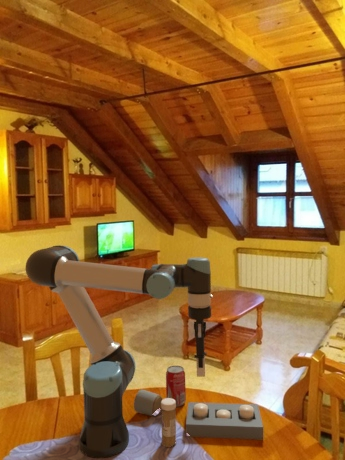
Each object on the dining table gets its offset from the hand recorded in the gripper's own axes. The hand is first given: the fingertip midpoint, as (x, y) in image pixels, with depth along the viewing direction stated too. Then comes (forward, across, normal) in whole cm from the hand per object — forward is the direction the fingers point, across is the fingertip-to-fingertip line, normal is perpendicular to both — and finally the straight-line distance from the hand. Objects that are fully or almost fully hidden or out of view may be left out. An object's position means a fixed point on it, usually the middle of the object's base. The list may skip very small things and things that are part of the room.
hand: (200, 375), depth 129 cm
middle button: (+16, 0, -7) cm, 17 cm away
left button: (+14, 0, 0) cm, 14 cm away
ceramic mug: (+17, +8, +19) cm, 26 cm away
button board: (+17, 0, -7) cm, 18 cm away
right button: (+14, 0, -15) cm, 20 cm away
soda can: (+17, +14, +10) cm, 24 cm away
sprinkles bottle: (+17, -11, +10) cm, 22 cm away
